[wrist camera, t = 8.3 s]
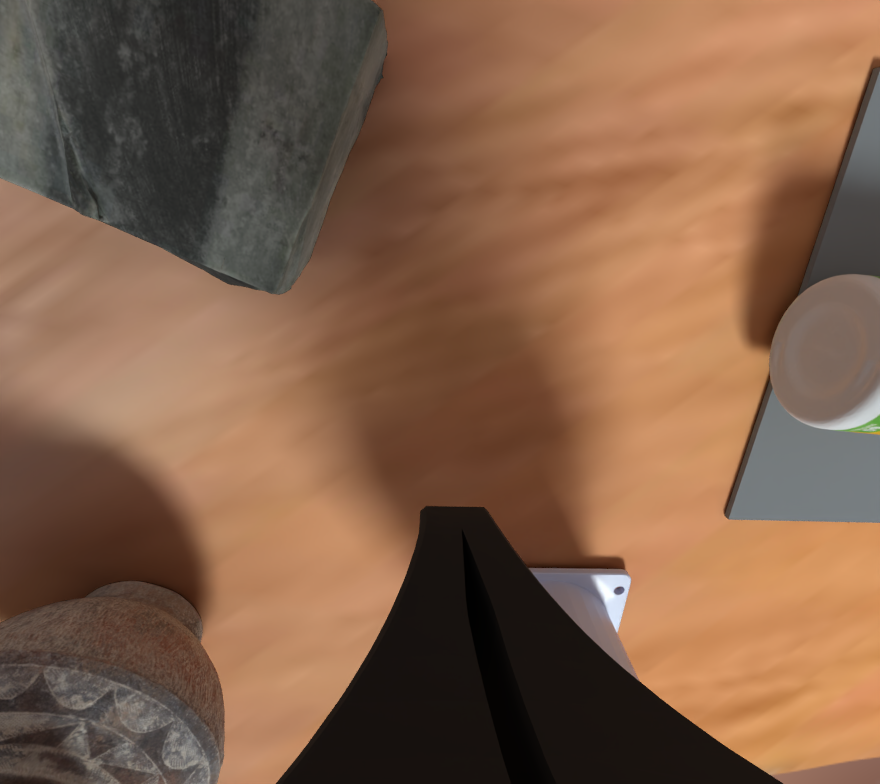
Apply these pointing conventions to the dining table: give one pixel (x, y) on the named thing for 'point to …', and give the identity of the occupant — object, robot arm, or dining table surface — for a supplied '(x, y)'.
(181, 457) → the dining table surface
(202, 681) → the pottery
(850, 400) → the supplement bottle
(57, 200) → the stone block
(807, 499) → the mat
